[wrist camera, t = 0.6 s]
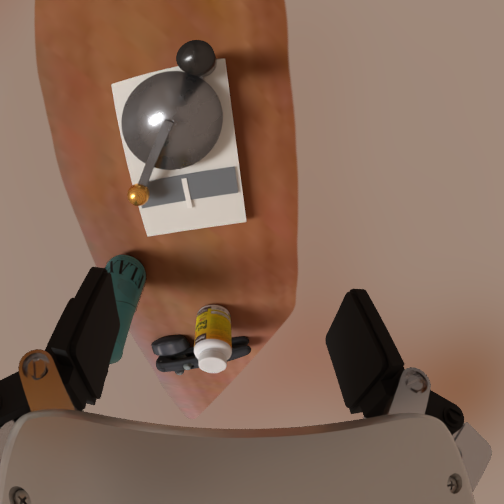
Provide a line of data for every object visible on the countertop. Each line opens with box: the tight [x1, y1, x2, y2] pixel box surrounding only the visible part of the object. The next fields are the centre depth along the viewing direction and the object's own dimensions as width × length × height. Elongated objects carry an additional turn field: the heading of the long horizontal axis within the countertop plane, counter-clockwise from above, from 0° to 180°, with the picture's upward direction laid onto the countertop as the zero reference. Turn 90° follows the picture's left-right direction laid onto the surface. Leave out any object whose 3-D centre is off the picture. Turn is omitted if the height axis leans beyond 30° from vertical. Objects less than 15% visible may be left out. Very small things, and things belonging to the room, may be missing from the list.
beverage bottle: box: [105, 255, 146, 376], centre depth 31 cm, size 6×7×20 cm
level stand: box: [111, 58, 246, 236], centre depth 31 cm, size 20×13×2 cm, turn 6°
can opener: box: [151, 335, 251, 375], centre depth 48 cm, size 18×7×6 cm, turn 96°
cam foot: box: [121, 40, 223, 206], centre depth 26 cm, size 19×11×7 cm, turn 151°
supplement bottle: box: [194, 305, 232, 373], centre depth 42 cm, size 6×6×10 cm
